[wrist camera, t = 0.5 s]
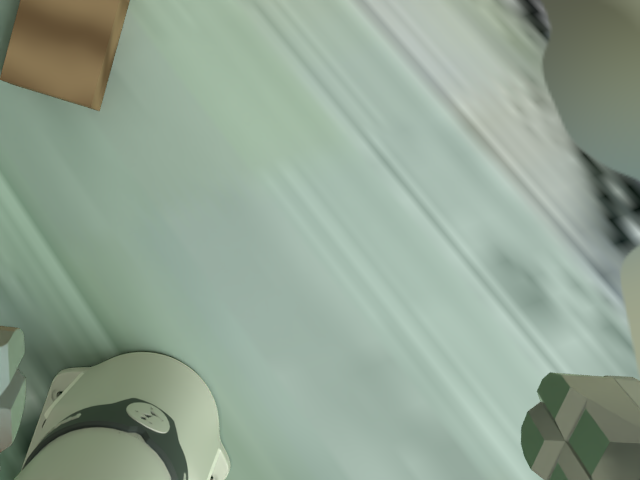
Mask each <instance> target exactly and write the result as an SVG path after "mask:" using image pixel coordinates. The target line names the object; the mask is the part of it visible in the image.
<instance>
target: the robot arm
mask: <svg viewBox="0 0 640 480" xmlns="http://www.w3.org/2000/svg"><path fill="white" fill-rule="evenodd" d="M24 354H25V344H24V333H23V332H22V330H21V329H20V328H15V327H5V326H0V452H2V451H3V450H5V449H6V448H8V447H9V446H11V445H12V444H13V441H14V439H15V436H16V434H17V432H18V429H19V426H20V422H21V418H22V414H23V411H24V405H25V396H26V377H25V376H24V375H23V374H22V373H21V372H20V371H19V369H18V366H19V364H20V362H21V360H22V358H23V356H24ZM59 391H63V392H62V394H61V395H60V394H59ZM537 393H538V396H539V399H540V401H541V402H540V403H538V404H537V405H536V406H534V407H533V408H532V409H530V410H529V411H528V412H527V414H526V417H525V420H524V422H523V425H522V427H521V445H522V449H523V453H524V457H525V459H526V461H527V463H528V465H529V466H530V468H531V470H533V471H534V472H535V473H536V474H538V475H539V476H540V477H541V478H543V479H544V480H640V381H639V380H637V379H635V378H633V377H622V376H590V375H577V374H565V373H552V372H550V373H549V374H548V375H547V376H546V377H544V378H543V379H542V381H541V384H540V386H539V388H538V390H537ZM230 467H231V465H230V460H229V457H228V455H227V452H226V450H225V448H224V447H223V445H222V443H221V440H220V434H219V417H218V411H217V407H216V404H215V401H214V398H213V396H212V394H211V392H210V390H209V388H208V387H207V385H206V384H205V382H204V381H203V380H202V379H201V378H200V376H199V375H198V374H196V373H195V372H194V371H193V370H192V369H191V368H189V367H188V366H187V365H185V364H183V363H182V362H180V361H178V360H176V359H174V358H171V357H169V356H166V355H162V354H157V353H151V352H134V353H127V354H123V355H119V356H116V357H113V358H111V359H109V360H107V361H104V362H102V363H100V364H98V365H95V366H92V367H77V368H68V369H64V370H62V371H60V372H59V373H58V374H57V375H56V376H55V378H54V379H53V381H52V384H51V387H50V390H49V393H48V395H47V398H46V401H45V404H44V407H43V409H42V412H41V415H40V418H39V421H38V424H37V426H36V429H35V432H34V435H33V438H32V441H31V443H30V446H29V449H28V452H27V455H26V457H25V460H24V463H23V466H22V469H21V472H20V473H19V474H18V475H17V476H16V477H15V478H14V479H13V480H224V479H225V478H226V477H227V475H228V473H229V471H230ZM0 471H1V468H0ZM211 475H212V476H213V478H212V479H210V478H211Z"/></svg>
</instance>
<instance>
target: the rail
mask: <svg viewBox="0 0 640 480" xmlns="http://www.w3.org/2000/svg"><path fill="white" fill-rule="evenodd" d="M129 1H130V0H20V4H19V8H18V11H17V15H16V19H15V23H14V27H13V31H12V34H11V38H10V42H9V46H8V50H7V53H6V57H5V61H4V65H3V69H2V73H1V76H0V80H2V81H5V82H7V83H10V84H13V85H16V86H19V87H22V88H26V89H29V90H32V91H36V92H39V93H42V94H45V95H49V96H52V97H55V98H58V99H62V100H65V101H68V102H72V103H75V104H78V105H81V106H85V107H88V108H91V109H95V110H98V111H100V107H101V104H102V100H103V96H104V93H105V89H106V85H107V82H108V78H109V74H110V71H111V67H112V63H113V60H114V56H115V52H116V49H117V45H118V41H119V38H120V34H121V30H122V27H123V23H124V19H125V16H126V12H127V9H128V5H129Z"/></svg>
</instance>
